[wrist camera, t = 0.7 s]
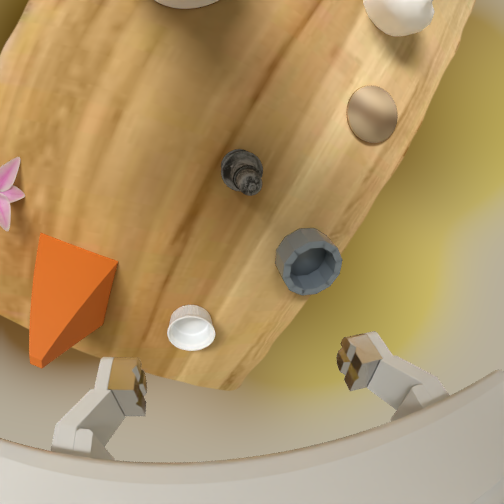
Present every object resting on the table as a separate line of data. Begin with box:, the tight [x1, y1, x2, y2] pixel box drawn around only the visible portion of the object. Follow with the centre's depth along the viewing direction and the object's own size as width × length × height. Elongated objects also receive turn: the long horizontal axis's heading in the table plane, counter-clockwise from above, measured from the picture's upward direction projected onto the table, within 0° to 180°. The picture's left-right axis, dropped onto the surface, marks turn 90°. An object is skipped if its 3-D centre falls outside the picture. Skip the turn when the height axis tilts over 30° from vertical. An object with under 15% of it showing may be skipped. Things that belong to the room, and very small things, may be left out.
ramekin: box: [167, 305, 215, 351], centre depth 54 cm, size 9×9×4 cm
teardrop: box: [363, 0, 434, 36], centre depth 28 cm, size 11×11×12 cm
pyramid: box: [29, 233, 118, 368], centre depth 39 cm, size 16×16×20 cm
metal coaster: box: [347, 86, 398, 143], centre depth 43 cm, size 10×10×1 cm
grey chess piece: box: [221, 149, 263, 196], centre depth 39 cm, size 6×6×12 cm
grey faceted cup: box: [275, 228, 342, 295], centre depth 51 cm, size 10×10×5 cm
